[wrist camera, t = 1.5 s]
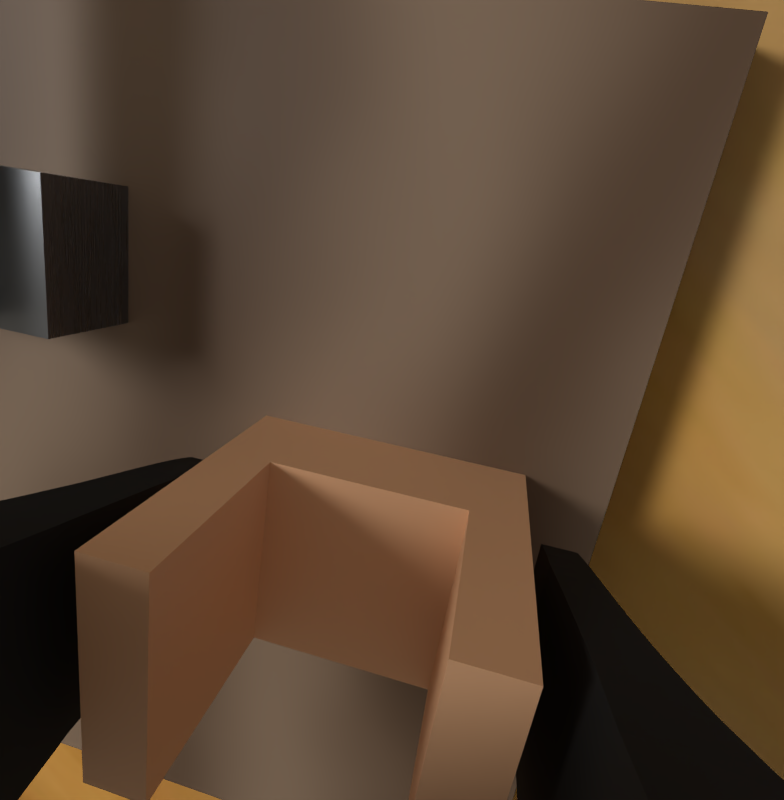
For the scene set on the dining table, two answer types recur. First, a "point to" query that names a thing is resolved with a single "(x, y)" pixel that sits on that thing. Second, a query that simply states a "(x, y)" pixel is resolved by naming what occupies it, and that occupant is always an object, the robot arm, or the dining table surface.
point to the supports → (61, 253)
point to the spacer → (314, 600)
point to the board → (364, 272)
